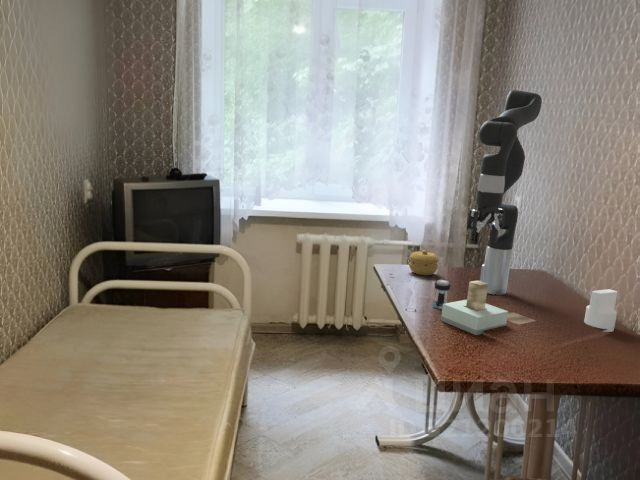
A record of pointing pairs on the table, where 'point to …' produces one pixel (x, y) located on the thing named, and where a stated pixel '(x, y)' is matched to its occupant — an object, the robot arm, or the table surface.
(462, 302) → the socket block
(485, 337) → the table surface
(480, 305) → the pin
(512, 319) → the coaster
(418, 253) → the pot
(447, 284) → the push button
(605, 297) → the cylinder with rectangular tab
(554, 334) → the table surface
